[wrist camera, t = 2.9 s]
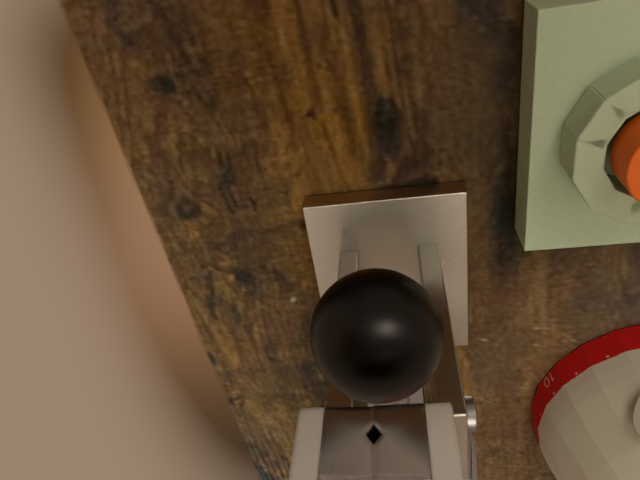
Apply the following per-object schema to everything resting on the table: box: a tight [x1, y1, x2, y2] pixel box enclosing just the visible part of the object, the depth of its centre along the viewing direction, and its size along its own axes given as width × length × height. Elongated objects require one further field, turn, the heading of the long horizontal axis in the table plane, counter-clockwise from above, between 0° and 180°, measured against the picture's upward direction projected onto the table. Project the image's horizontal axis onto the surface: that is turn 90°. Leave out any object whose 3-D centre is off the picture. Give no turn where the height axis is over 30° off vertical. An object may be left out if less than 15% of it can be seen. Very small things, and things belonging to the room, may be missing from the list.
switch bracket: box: [302, 181, 477, 479], centre depth 25 cm, size 10×8×12 cm
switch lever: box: [310, 268, 445, 409], centre depth 17 cm, size 13×3×3 cm, turn 10°
